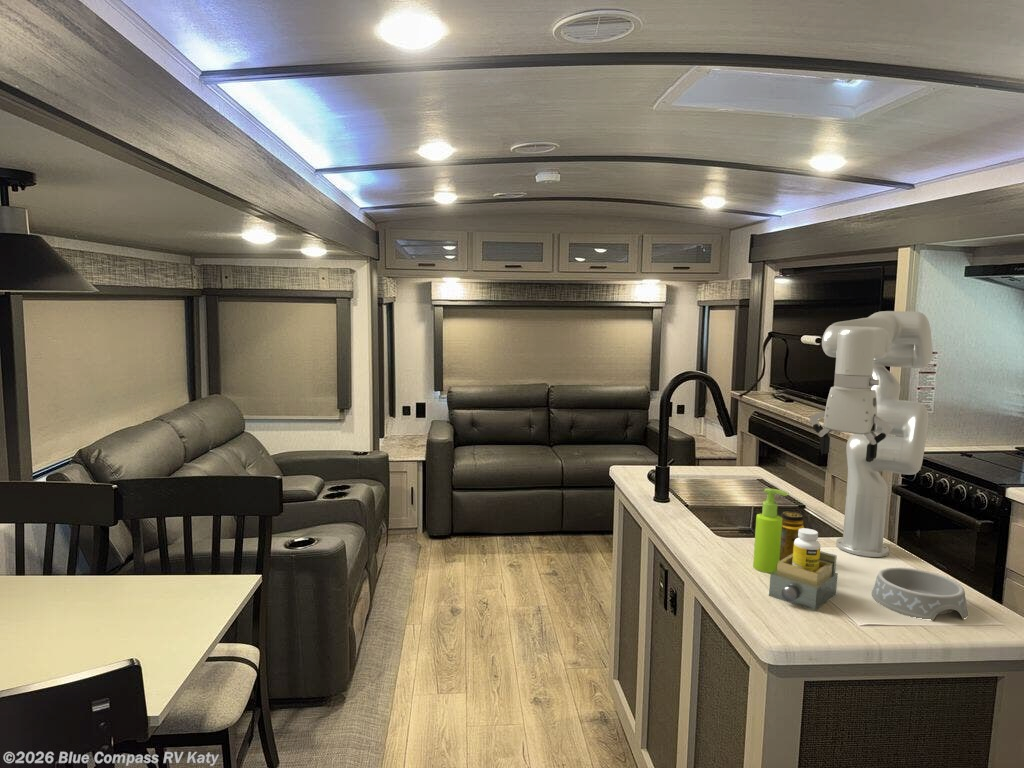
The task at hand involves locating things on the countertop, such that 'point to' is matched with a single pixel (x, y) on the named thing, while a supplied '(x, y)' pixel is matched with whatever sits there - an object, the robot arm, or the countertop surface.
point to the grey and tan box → (805, 582)
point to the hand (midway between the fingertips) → (846, 457)
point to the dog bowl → (918, 593)
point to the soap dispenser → (768, 534)
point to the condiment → (789, 532)
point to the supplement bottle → (806, 550)
